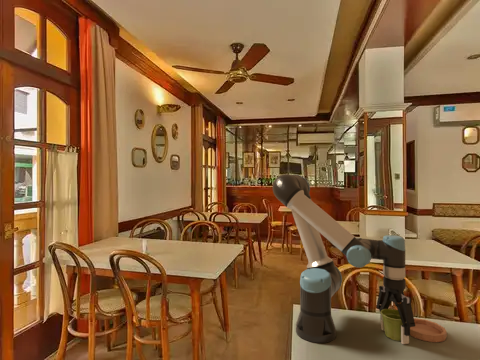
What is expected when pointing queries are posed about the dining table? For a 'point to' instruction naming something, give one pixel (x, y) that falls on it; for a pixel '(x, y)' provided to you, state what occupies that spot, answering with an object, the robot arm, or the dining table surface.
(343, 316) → the dining table surface
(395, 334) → the plant pot
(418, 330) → the terracotta plant saucer
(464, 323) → the dining table surface
